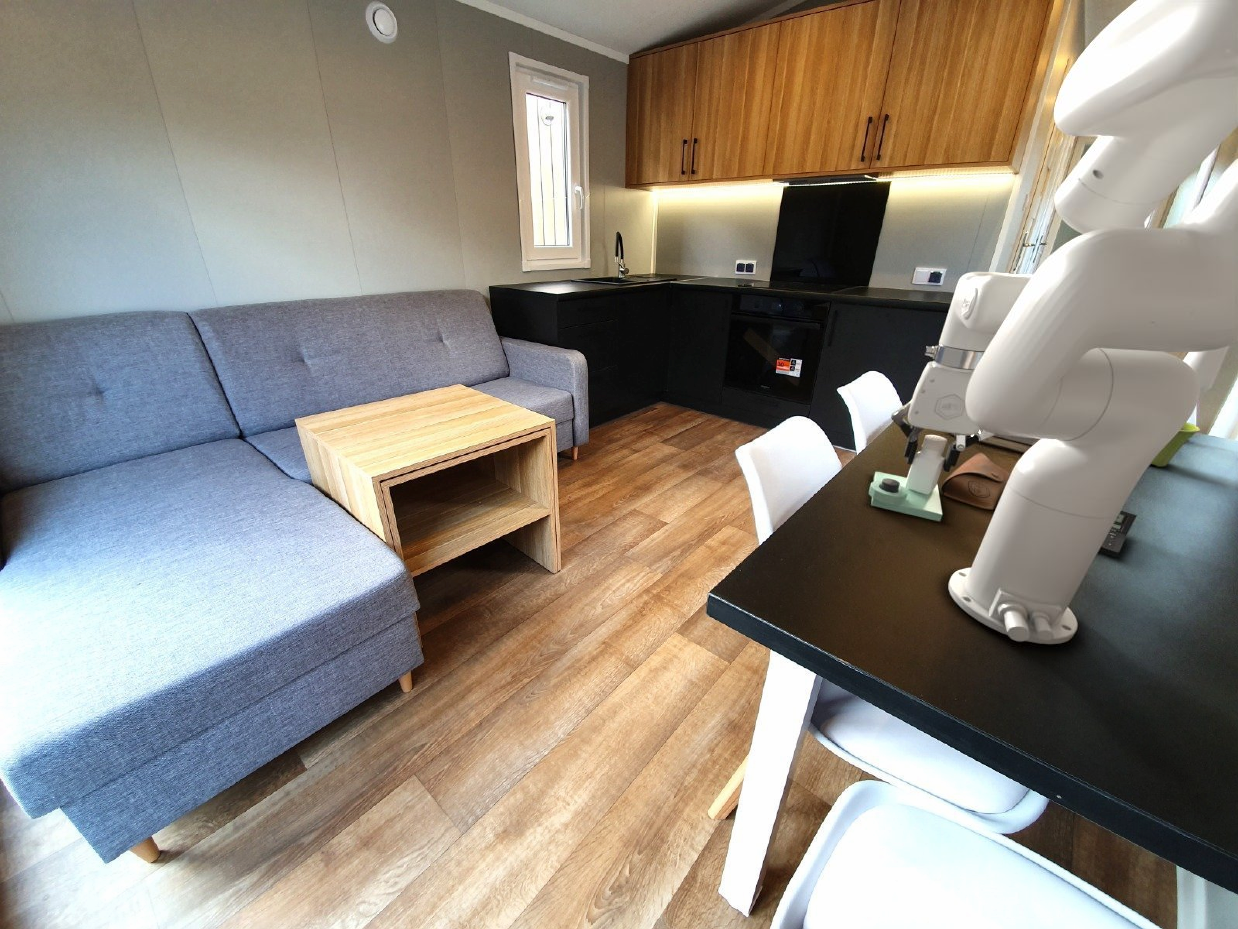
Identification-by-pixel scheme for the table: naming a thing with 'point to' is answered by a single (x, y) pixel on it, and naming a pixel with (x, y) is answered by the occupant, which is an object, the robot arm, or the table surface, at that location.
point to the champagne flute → (1206, 366)
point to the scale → (905, 498)
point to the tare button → (890, 485)
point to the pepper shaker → (927, 465)
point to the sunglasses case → (976, 482)
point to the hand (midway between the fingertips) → (927, 464)
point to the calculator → (1117, 534)
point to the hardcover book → (1009, 442)
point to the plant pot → (1175, 444)
